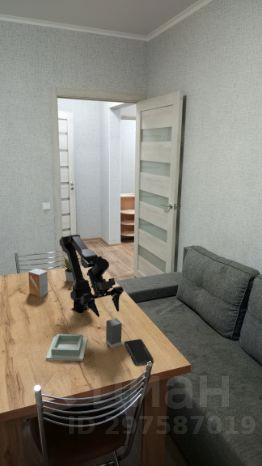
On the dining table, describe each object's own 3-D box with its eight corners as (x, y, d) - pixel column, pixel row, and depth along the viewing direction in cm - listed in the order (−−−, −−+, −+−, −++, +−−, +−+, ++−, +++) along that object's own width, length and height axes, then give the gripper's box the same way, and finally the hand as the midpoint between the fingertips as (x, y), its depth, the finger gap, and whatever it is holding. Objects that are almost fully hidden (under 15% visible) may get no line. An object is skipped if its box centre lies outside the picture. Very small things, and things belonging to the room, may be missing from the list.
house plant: (87, 276, 204) (87, 251, 200) (81, 285, 191) (81, 258, 187) (64, 274, 205) (64, 249, 201) (57, 283, 192) (57, 257, 188)
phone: (134, 363, 123) (123, 341, 136) (134, 366, 123) (123, 343, 137) (154, 360, 125) (141, 338, 139) (154, 362, 125) (141, 340, 139)
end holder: (54, 338, 138) (53, 331, 137) (87, 339, 138) (87, 332, 137) (45, 360, 124) (45, 351, 123) (82, 361, 124) (82, 352, 124)
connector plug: (105, 342, 137) (106, 320, 134) (115, 339, 139) (116, 317, 137) (111, 348, 133) (111, 326, 130) (121, 344, 135) (122, 323, 133)
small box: (29, 293, 178) (27, 271, 175) (37, 289, 183) (36, 267, 180) (40, 297, 174) (39, 274, 171) (48, 293, 180) (47, 271, 176)
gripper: (82, 276, 132) (94, 312, 126) (122, 268, 142) (135, 302, 136) (75, 287, 141) (86, 322, 134) (113, 279, 150) (125, 311, 144)
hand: (108, 314), depth 137 cm, fingers open, 9 cm apart
